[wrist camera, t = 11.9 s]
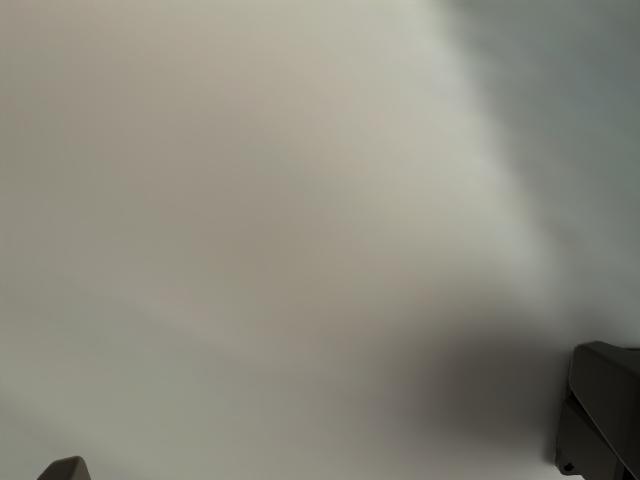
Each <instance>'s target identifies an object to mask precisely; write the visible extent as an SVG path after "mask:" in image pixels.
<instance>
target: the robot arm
mask: <svg viewBox="0 0 640 480" xmlns="http://www.w3.org/2000/svg"><path fill="white" fill-rule="evenodd" d="M567 463H568V464H567ZM566 464H567V465H566ZM555 466H556V467H557V469H558V470H559V471H560V473H561V474H563V475H567V476H570V475H582V477H583V478H584V479H585V480H640V350H631V351H629V350H626V349H623V348H619V347H616V346H613V345H610V344H607V343H604V342H601V341H589V342H584V343H580V344H577V345H576V346H575V347H574V349H573V353H572V360H571V363H570V369H569V375H568V381H567V388H566V394H565V399H564V401H563V405H562V411H561V418H560V424H559V431H558V437H557V452H556V458H555ZM37 480H91V478H90V475H89V472H88V469H87V466H86V463H85V461H84V459H83V458H82V457H80V456H73V457H69V458H64V459H60V460H56V461H54V462H53V463H51V464H50V465H49V466H48V467H47V469H46V470H45V471H44V472H43V473H42V474H41V475H40V476H39V477H38V479H37Z"/></svg>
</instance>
